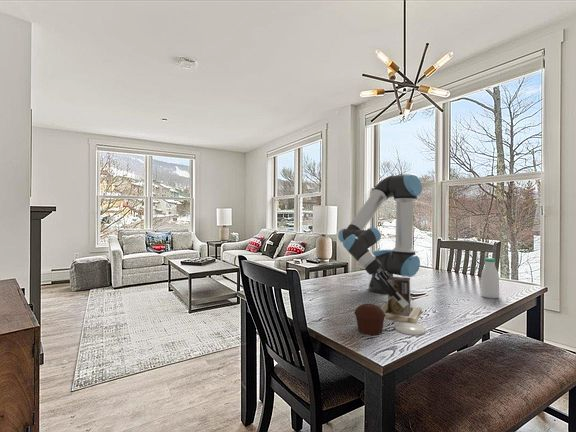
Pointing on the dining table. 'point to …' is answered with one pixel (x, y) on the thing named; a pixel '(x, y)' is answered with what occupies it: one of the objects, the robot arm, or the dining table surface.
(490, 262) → the milk bottle
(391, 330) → the dining table surface
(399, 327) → the coaster
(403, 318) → the holder board
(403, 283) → the coffee box
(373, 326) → the muffin
